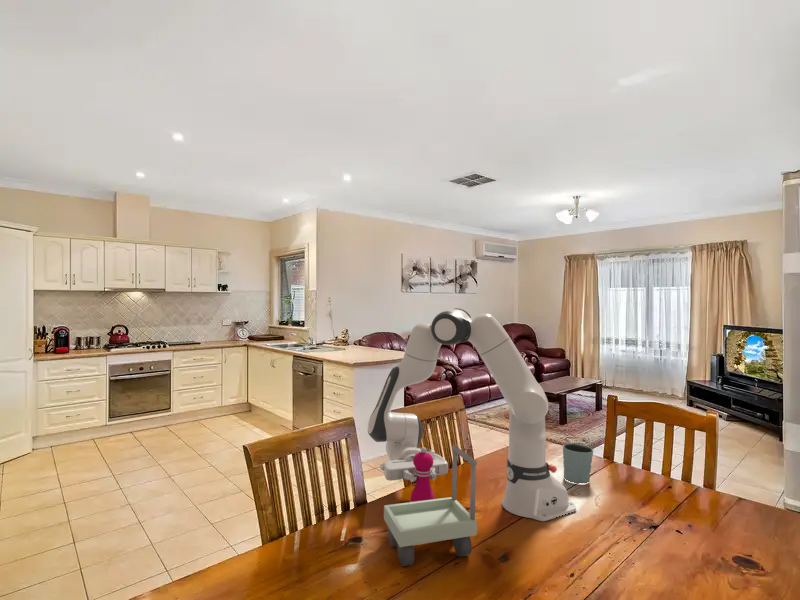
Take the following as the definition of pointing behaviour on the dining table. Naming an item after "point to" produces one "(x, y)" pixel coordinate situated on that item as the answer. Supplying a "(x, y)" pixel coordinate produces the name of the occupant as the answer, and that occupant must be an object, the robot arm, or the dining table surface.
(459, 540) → the serving trolley
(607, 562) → the dining table surface
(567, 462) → the grey cup
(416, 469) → the pepper mill
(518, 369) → the robot arm
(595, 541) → the dining table surface
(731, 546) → the dining table surface
